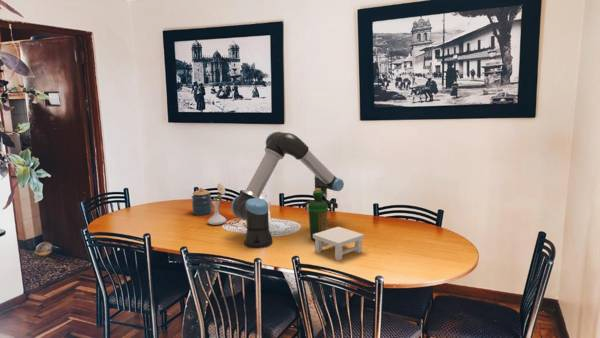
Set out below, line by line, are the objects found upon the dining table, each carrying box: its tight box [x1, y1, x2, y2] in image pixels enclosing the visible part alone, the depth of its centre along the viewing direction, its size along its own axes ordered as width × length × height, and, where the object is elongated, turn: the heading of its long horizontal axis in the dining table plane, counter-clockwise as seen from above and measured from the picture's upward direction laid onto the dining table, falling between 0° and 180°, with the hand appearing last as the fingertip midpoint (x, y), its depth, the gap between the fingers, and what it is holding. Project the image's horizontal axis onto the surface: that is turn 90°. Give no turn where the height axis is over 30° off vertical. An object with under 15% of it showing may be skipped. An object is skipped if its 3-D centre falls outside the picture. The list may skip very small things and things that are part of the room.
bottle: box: [308, 187, 329, 242], centre depth 229 cm, size 11×11×28 cm
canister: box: [191, 187, 213, 217], centre depth 286 cm, size 13×13×18 cm
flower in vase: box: [207, 183, 227, 226], centre depth 262 cm, size 13×11×25 cm
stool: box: [313, 226, 365, 261], centre depth 211 cm, size 18×18×9 cm
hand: (319, 209), depth 235 cm, fingers open, 13 cm apart
